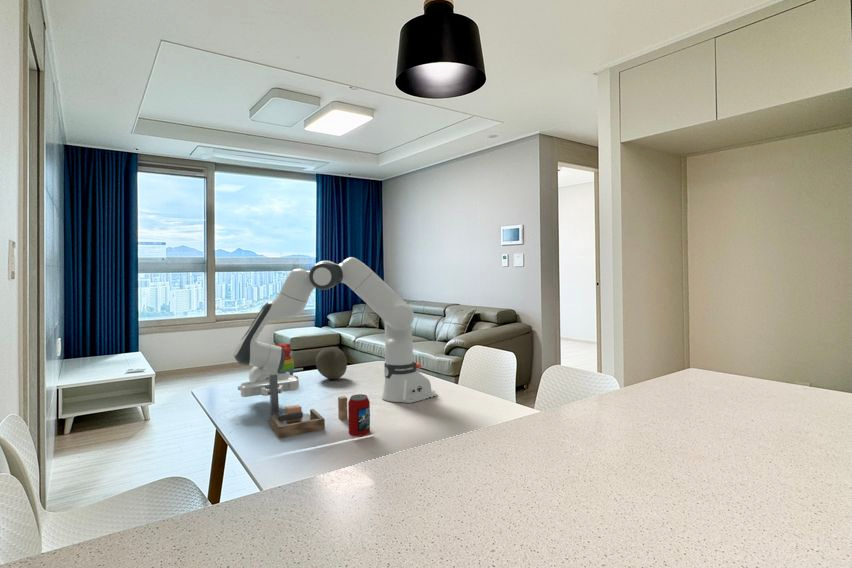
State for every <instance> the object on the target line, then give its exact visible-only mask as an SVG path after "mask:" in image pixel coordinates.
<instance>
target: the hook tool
mask: <svg viewBox="0 0 852 568" xmlns="http://www.w3.org/2000/svg"><path fill="white" fill-rule="evenodd" d="M269 388H270V390H271V392H270V393H271V395H269V404H270V405H269V406H270V408H269V409H270V416H273V415H274V416H275V417H276V418H277V419H278V421H285V420H291V419H297V418H303V414H304V413H303V410H302V411H299V412H293V413H287V414H285V413H283V412H281V411H280V410H279V409H280V407H279V405H280V404H279V394H278V382H277V374H271V375H269Z"/></svg>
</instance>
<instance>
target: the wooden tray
mask: <svg viewBox="0 0 852 568" xmlns="http://www.w3.org/2000/svg"><path fill="white" fill-rule="evenodd" d="M269 417H270V419H268V420H266V422H267V424H268V425H269V426H270V428H271V429H272V431H273V432H274V433H275V435H276V436H277V438H278V439H284V438H290V437H294V436H299V435H305V434H309V433H314V432H319V431H324V430H325V429H326V426H325V421H326V420H325V418H324V417H323V416H322V415H321V414H320V413H319V412H318V411H317V410H316V409H315V408H311V409H310V410H309V413H303V418H302V420H300V421H294V422H287V421H286V420H285V421H278V419H277V418H276V417H275V416H274V415H273V416H271V415H270V416H269Z"/></svg>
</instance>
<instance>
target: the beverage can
mask: <svg viewBox="0 0 852 568" xmlns="http://www.w3.org/2000/svg"><path fill="white" fill-rule="evenodd" d="M370 403H371V402H370V399H369V398H368V395H367V394H362V393H361V394H353V395H351V396H350V398H349V399H348V401H347V416H348V419H347V420H348V433H349V435H351V436H356V437H359V438H361V437H363V436H366V435H368V434H369V433H370V432H371V410H370V409H371V407H370V406H371V404H370Z"/></svg>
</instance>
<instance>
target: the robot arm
mask: <svg viewBox="0 0 852 568" xmlns="http://www.w3.org/2000/svg"><path fill="white" fill-rule="evenodd" d="M341 283H342V284H344V285H346V286H347V287H348V288H349V289H350V290H351V291H352V292H354V293H355V294H356V295H357V296H358V297H359V298H360V299H361V300H363V302H364V303H366V305H367V306H369V307H370V309H371V310H372V311H373V312H375V313H376V315H378V317H379V318H381V320H383V322H384V343H385V344H384V346H385V347H384V349H385V358H384V360H385V362H384V363H383V364H384V367H383V369H384V370H383V371H384V372H383V373H384V385H383V392H382V395H381V399H383V400H384V401H387V402H394V403H403V404H404V403H406V404H413V403H415V402H419V401H422V400H427V399H430V398H429V397H431V398H434V397H433V396H435V397H437V396H438V393H437V391H436V390H434V389H432V384H431V382H430V379H429V378H428V377H426V376H425V375H423V374H422V373H421V372H419V371H418V369H419V370H420V369H422V364H421V363H419V362H415V361H414V357H413V356H414V353H413V352H414V351H413V350H414V347H413V345H414V342H413V333H412V332H413V330H412V324H413V322H414V320H415V314H414V310H413V308H412V307H411V306H410V304H408V303H407V302H406V301H405V300H404V299H403V298H402V297H401V296H399V295H398V294H397V292H396V291H394V289H393V288H391V286H389V285H388V284H387V283H386V282H385V281H384V280H383V279H382V278H381V277H380V276H379V275H378V274H377V273H376V272H374V271H373V270H372V269H371V268H370V267H369V266H368V265H366V263H364V262H362V261H361V260H360V259H358V258H356V257H353V256H350V257H346V259H343V261H342V262H340V263H336V262H335V261H333V260H321V261H318V262H316V263H314V264H313V265H312V267H310V270H307V269H304V268H294V269H292V270H291V271H290V272H289V274H288V275H287V277H286V279H285V280H284V282H283V284H282V286H281V289H280V291H279V293H278V294H277V296H276V297H275V298H274V299H273V300H272V301H268V302H266V303H265V304H264V305H263V306H262V308H261V309H260V311H259V312H258V314H257V315H256V316H255V319H254V320H253V321H252V323H251V325H250V327H248V330H247V331H246V332H245V334H244V335H243V337H242V338H241V339H240V341H239V342H238V343H237V344H236V347H235V349H234V353H233V358H234V360H236V362H237V363H238V364H239V365H241V366H242V365H243V366H252V368H251V369H250V370H249V373H248V381H247V382H242V383H240V386H237V391H240V396H241V397H242V398H247V397H249V398H250V397H255V396H265V397H267V396H270V395H271V393H270V392H271V390H270V388H269V375H271V374H277V382H278V395H279V394H282V393H284V392H291V391H297V390H299V387H300V381H299V378H298V379H297V378H296V377H294V376H295V375H294V376H292V375H290V373H289V372H280V371H281V370H282V368H283V365H284V361H285V354H284V351H283V349H282V348H281V347H279V346H276V344H271V343H266V342H262V341H258V337H259V336H260V335H261V332H262V331H263V329H264V328H265V326H266V325H267V324H268V323H269V322H272V321H275V320H284V319H285V320H286V319H292V318H293V319H294V318H295V317H297V316H299V315H301V314H302V313H303V312H304V311H305V308H306V306H307V303H308V302H309V298H310V296H311V293H312V292H313V291H314V290H315V289H317V290H321V291H322V290H323V291H325V290H330V289H331V288H334V287H335V286H337V285H339V284H341ZM426 398H427V399H426Z"/></svg>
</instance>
